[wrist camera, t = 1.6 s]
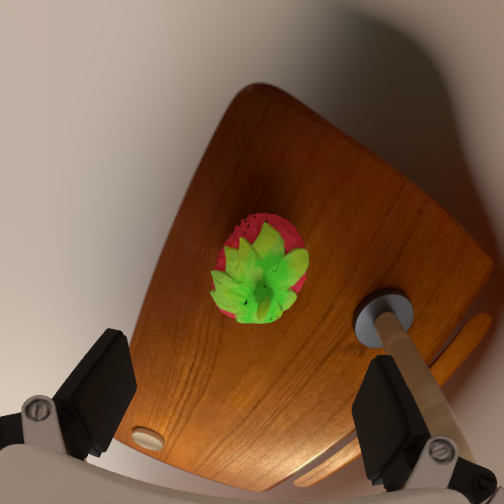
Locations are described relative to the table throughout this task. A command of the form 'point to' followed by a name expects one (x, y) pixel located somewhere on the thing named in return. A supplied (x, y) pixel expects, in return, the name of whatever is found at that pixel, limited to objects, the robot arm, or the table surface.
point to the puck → (148, 439)
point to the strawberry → (259, 269)
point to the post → (408, 360)
